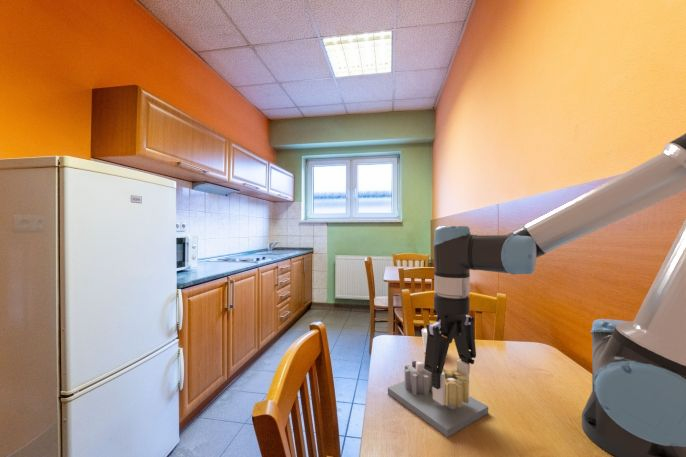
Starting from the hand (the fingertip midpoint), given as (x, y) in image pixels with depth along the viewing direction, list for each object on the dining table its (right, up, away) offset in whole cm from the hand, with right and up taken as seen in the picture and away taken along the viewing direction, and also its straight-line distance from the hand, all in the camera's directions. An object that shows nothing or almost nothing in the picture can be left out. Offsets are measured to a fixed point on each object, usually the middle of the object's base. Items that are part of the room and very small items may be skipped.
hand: (451, 395), depth 64 cm
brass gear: (0, 0, 0) cm, 0 cm away
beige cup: (+6, -4, +32) cm, 33 cm away
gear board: (-2, -4, +4) cm, 6 cm away
